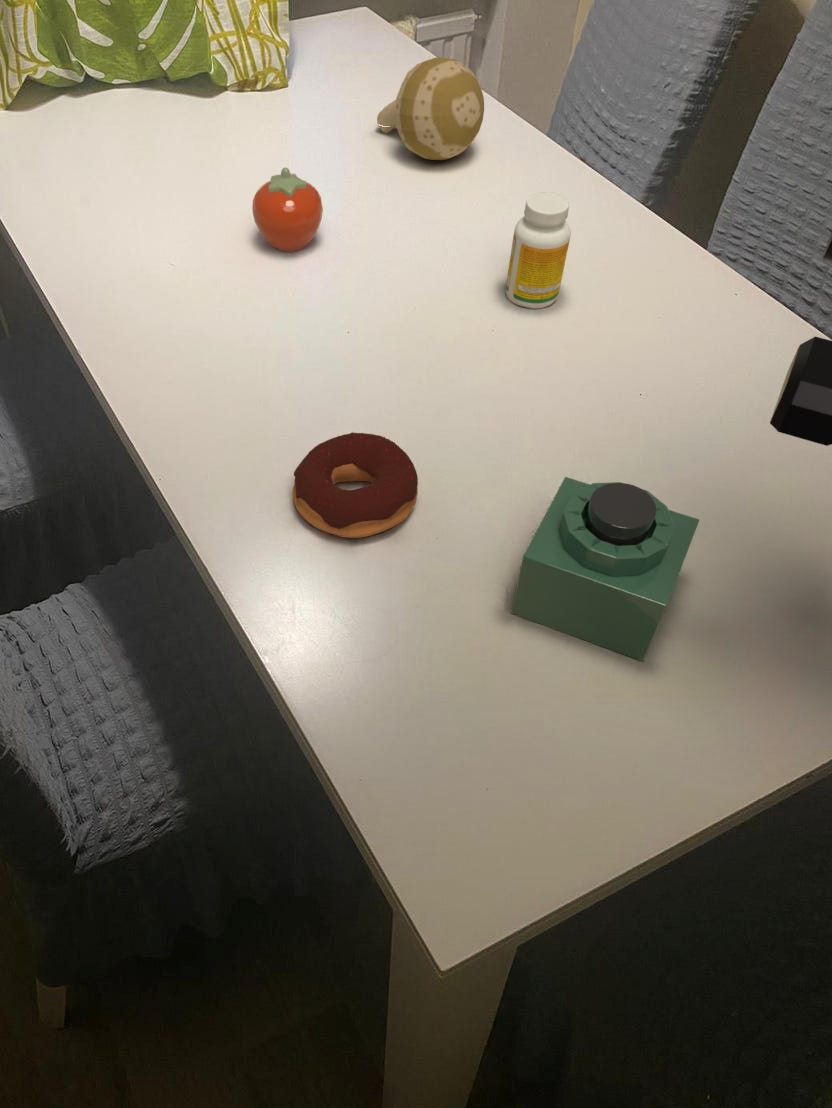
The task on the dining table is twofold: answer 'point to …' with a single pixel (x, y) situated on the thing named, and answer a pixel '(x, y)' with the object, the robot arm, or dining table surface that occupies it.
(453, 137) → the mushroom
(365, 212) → the dining table surface
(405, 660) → the dining table surface
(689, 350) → the dining table surface
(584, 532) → the button base
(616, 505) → the dark round knob
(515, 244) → the supplement bottle
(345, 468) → the donut
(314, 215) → the tomato
